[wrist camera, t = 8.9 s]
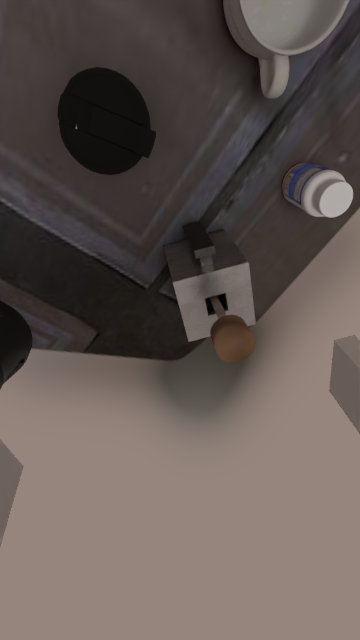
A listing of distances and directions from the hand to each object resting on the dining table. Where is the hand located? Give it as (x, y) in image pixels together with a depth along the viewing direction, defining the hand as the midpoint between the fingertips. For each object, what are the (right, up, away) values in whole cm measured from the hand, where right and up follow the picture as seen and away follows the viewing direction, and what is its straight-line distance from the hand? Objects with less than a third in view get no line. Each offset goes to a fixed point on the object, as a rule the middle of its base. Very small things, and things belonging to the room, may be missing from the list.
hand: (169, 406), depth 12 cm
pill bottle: (+17, +22, +32) cm, 43 cm away
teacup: (+9, +36, +22) cm, 43 cm away
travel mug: (-7, +27, +25) cm, 38 cm away
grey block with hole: (+3, +13, +36) cm, 39 cm away
